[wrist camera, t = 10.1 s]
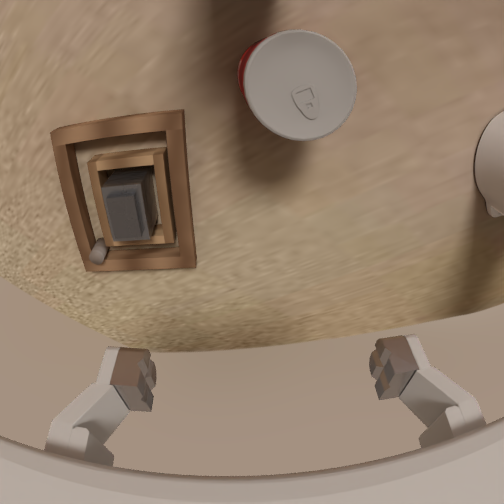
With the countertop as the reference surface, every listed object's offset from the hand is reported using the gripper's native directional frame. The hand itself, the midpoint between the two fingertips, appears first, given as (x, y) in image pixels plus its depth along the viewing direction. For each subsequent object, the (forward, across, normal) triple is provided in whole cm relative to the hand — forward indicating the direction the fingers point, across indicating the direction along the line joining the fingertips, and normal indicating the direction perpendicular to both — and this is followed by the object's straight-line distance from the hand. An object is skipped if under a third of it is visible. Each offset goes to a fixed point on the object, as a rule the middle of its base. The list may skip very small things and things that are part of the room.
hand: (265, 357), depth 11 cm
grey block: (+25, +12, +5) cm, 28 cm away
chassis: (+25, +12, +5) cm, 28 cm away
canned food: (+26, -3, -7) cm, 27 cm away
